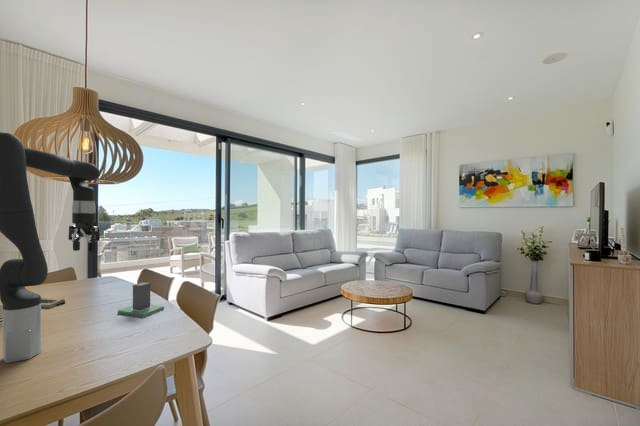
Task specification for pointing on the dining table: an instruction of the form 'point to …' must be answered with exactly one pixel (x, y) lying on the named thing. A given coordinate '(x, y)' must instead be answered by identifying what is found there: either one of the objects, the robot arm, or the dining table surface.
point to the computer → (51, 302)
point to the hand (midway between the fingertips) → (83, 251)
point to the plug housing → (141, 296)
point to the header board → (140, 311)
